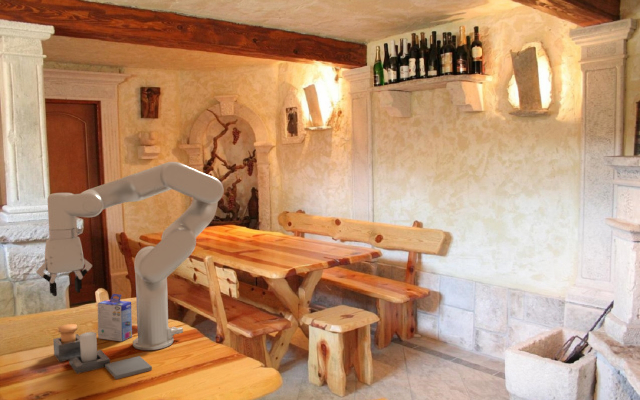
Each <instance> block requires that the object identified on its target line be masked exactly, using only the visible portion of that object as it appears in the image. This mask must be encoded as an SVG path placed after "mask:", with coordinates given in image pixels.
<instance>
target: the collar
mask: <svg viewBox="0 0 640 400" xmlns="http://www.w3.org/2000/svg"><path fill="white" fill-rule="evenodd" d="M110 361H111V359H110V357H108V355H106V354H105V352H103V350H101V349H97V360H93V361H89V362H85V363H81V354H80V355H75V356H71V357H69V360H68V363H69V365H70V367H71V368H72V369H73V370H74V372H75V373H76V374H77V375H78V374H81V373H86V372H90V371H93V370H98V369H102V368H105V364H108V363H111V362H110Z"/></svg>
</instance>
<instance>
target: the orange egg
mask: <svg viewBox="0 0 640 400" xmlns="http://www.w3.org/2000/svg"><path fill="white" fill-rule="evenodd" d="M77 330H78V325H77V324H76V323H75V324H74V323H67V324H62V325H60V326H59V327H58V333H60V337H61V343H67V342H72V341H76V335H75V334H76V331H77Z"/></svg>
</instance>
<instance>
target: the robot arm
mask: <svg viewBox="0 0 640 400" xmlns="http://www.w3.org/2000/svg"><path fill="white" fill-rule="evenodd" d="M171 190H173V191H175V192H178V193H180V194H183V195H185V196H187V197H190V198H192V201H191V203H190V205H189V207H188V208H186V210H185V211H184V212H182V214H181V215H180V216H179V217H178V218H176V219H175V220H174V221H173V222H172V223H171V224H170V225H168V226H167V227H166V228H165V229H164V230H163V232H162V234H161V240H160V241H159V242H158V243H156V245H155V246H153V245H149V246H144V247H142V248H141V249H140V250H139V251H138V252H137V253H136V256H135V258H134V261H133V262H134V266H133V267H134V273H135V276H134V277H135V290H136V291H135V292H136V320H137V321H136V323H137V324H136V325H137V326H136V327H137V337H136V338H135V339H134V340H133V341H132V346H133V348H135V349H137V350H139V351H140V350H141V351H155V350H160V349H164V348H168V347H170V346H171V345H172V344H173V343H174V336H175V335H178V334H183V332H184V329H183V327H181V326H179V327H176V326H172V327H169V308H168V307H169V305H168V302H169V301H168V279H167V278H168V277H169V276H170V275H171V274H172V273H174V272H175V270H177V268H179V267H180V266H181V265H182V264H183V263H184V262H185V261H186V260H187V259H188V258H189V257H190V256H191V255H192V253H193V252H194V250H195V249H196V245H197V237H198V236H199V235H201V233H202V232H203V231H204V230H205V229H206V228H207V227H208V226H209V225H210V223H211V222H212V221H213V220H214V218H215V216H216V213H217V210H218V203H219V201H220V200H221V199H222V197H223V195H224V192H225V191H224V190H225V189H224V185H223V183H222V181H220V180H219V179H218V178H216V177H215V176H211V175H209V174H206V173H205V172H202V171H199V170H198V169H195V168H193V167H190V166H188V165H186V164H184V163H182V162H178V161H167V162H165V163H161V164H159V165H155V166H153V167H150V168H148V169H147V168H146V169H144V170H141V171H137V172H136V173H135V172H134V173H132V174H129V175H126V176H123V177H121V178H119V179H116V180H113V181H110V182H107V183H103V184H101V185H98V186H95V187H92V188H89V189H87V190H84V191H81V193H75V194H74V193H72V192H54V193H51V194H48V196H47V216H48V217H47V218H48V219H47V220H48V236H49V237H48V239H46V240H45V248H44V262H43V263H42V265H40V267H39V268H38V269H37V270H36V274H37V275H38V276H40V277H42V278H43V279H45V280H46V281H47V282H48V283H49V293H50V294H51V295H52V296H53V297H57V295H58V294H57V293H58V290H57V282H56V278H57V275H58V274H62V273H63V274H64V273H70V272H74V274H75V278H74V291H75V292H76V293H81V289H83V286H82V285H83V284H82V279H83V278H84V276H86V274H87V273H88V272H89V271H90V270H91V268H92V267H93V264H91V263H90V262H89V261H88V260H87V259H86V258H85V257H84V253H83V247H82V246H83V245H82V241H81V238H80V236H79V235H80V234H83V229H82V228H78V222H77V221H78V220H77V218H78V217H81V218H93V217H94V218H95V217H97V216H99V215H100V214H101V213H102V211H103V210H105V209H108V208H111V207H115V206H116V205H117V206H118V205H122V204H126V203H131V202H132V203H133V202H134V203H135V202H139V201H143V200H146V199H148V198H151V197H154V196H156V195H159V194H162V193H166V192H168V191H171ZM45 271H47V272H48V273H49V275H48V274H46V273H45Z"/></svg>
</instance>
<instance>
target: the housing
mask: <svg viewBox="0 0 640 400" xmlns="http://www.w3.org/2000/svg"><path fill="white" fill-rule="evenodd" d="M75 335H76V341H72V342H67V343H61V336H60V337H56V338H53V355H54V357H55V356H56V357H55V358H56V360H59V361H58V363H61V362H65V360H66V361H69V357H71V356H75V355H80V354H81V350H80V335H79V333H75Z"/></svg>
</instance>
